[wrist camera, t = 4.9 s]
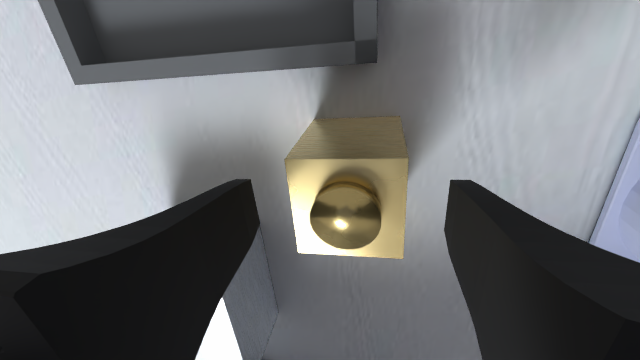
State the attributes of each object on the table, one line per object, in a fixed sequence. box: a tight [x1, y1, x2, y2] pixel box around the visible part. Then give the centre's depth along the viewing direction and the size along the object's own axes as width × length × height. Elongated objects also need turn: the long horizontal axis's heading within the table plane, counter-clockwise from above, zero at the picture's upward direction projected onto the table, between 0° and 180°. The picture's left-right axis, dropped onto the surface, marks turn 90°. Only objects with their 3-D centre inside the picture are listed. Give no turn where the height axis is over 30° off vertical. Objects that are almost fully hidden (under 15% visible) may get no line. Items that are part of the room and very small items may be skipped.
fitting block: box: [284, 116, 409, 259], centre depth 12 cm, size 4×4×6 cm
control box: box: [195, 225, 278, 360], centre depth 18 cm, size 6×8×6 cm
